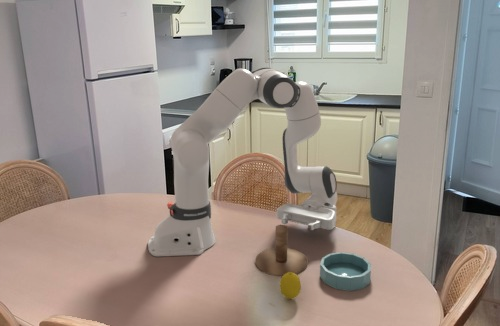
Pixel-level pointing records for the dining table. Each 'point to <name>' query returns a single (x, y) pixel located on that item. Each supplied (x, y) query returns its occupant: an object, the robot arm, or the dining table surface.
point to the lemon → (290, 285)
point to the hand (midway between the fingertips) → (296, 224)
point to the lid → (281, 256)
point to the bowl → (345, 271)
